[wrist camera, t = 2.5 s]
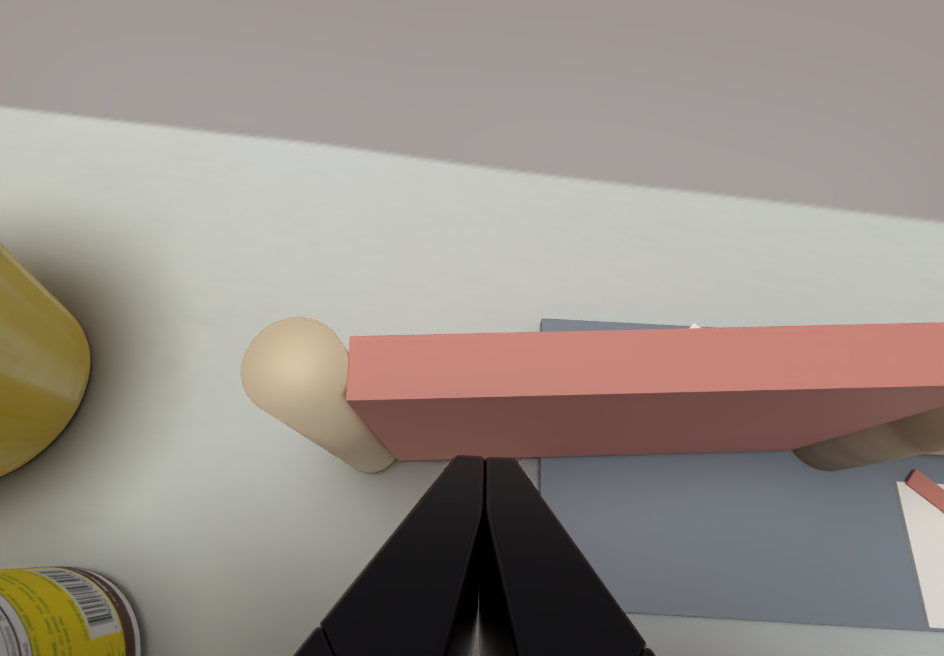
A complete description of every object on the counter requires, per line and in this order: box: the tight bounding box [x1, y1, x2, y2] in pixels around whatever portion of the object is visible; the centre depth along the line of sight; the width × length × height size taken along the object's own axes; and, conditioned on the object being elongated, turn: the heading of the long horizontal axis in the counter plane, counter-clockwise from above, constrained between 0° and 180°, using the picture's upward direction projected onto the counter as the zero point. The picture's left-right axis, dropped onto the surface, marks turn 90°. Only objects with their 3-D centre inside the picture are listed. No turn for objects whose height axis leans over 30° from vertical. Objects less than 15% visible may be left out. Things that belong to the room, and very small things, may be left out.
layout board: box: [539, 319, 944, 632], centre depth 17 cm, size 21×9×1 cm, turn 87°
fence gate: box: [241, 317, 944, 473], centre depth 13 cm, size 14×2×8 cm, turn 91°
